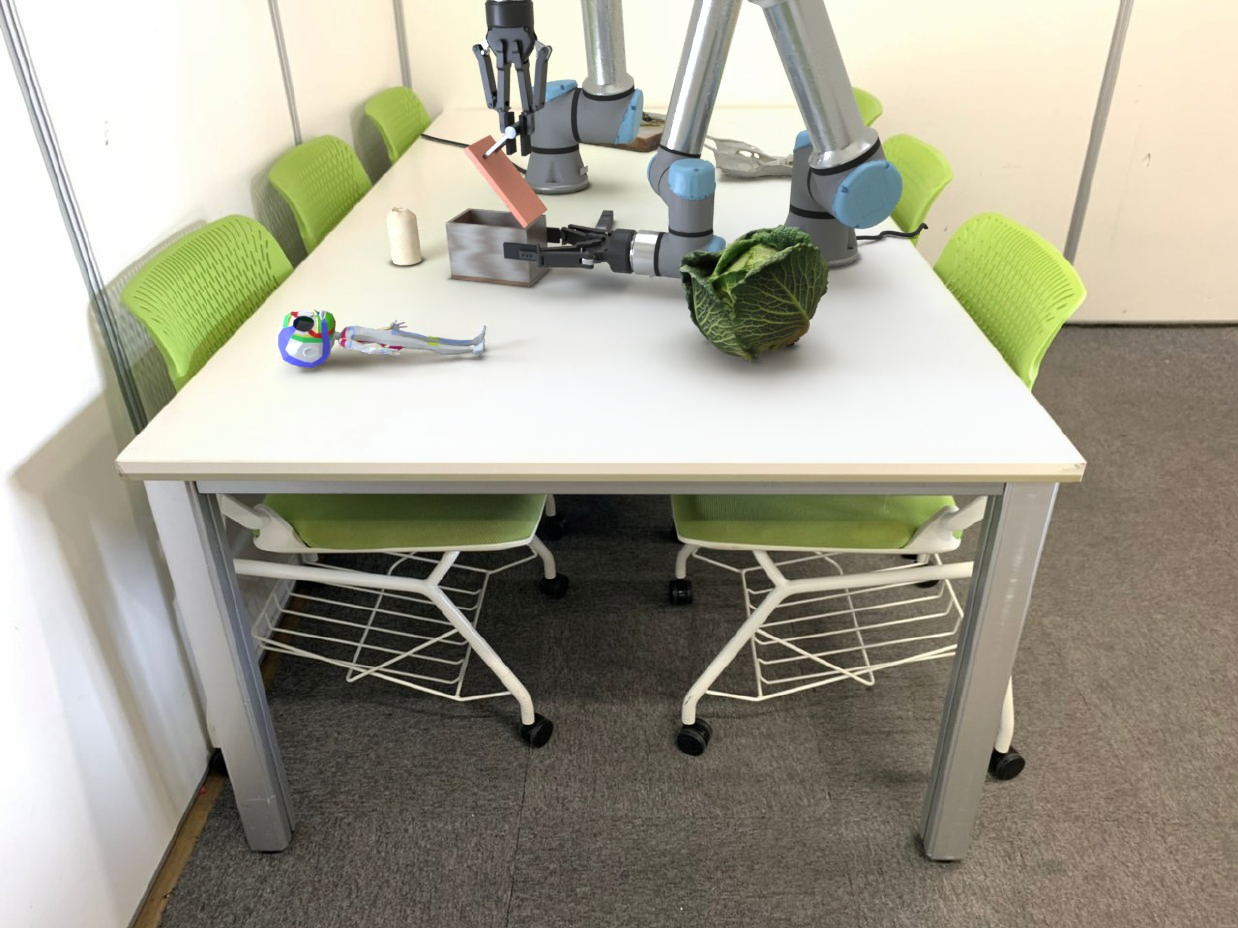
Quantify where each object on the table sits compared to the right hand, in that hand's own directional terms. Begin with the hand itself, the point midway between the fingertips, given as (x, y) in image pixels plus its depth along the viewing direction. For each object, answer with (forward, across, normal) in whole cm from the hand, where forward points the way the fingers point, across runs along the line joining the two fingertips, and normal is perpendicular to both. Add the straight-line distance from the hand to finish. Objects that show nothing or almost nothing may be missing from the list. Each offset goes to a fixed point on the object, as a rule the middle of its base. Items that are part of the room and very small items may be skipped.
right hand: (515, 241), depth 161 cm
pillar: (-8, +26, -6) cm, 27 cm away
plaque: (+12, +114, -7) cm, 115 cm away
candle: (+24, +1, -6) cm, 25 cm away
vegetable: (-47, -19, -6) cm, 51 cm away
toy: (+5, -38, -6) cm, 39 cm away
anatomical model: (-28, +80, -7) cm, 85 cm away
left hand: (-2, 0, +15) cm, 16 cm away
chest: (+4, 0, -6) cm, 7 cm away
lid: (+1, 0, +10) cm, 10 cm away
